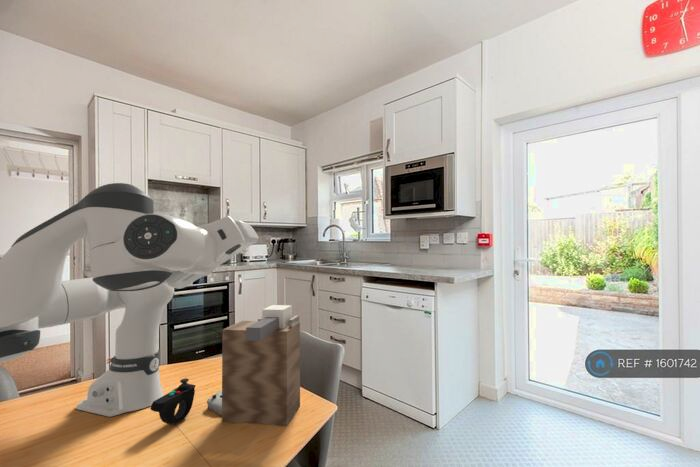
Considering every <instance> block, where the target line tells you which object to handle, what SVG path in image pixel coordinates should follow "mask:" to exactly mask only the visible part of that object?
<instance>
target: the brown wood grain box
mask: <svg viewBox="0 0 700 467" xmlns="http://www.w3.org/2000/svg"><path fill="white" fill-rule="evenodd" d="M260 320H262V316H261V317H259V318H258V319H257V320H241V321H238V322H236V323H234V324H232V325H229V326H227V327H225V328H222V342H221V343H222V344H221V345H222V348H221V350H222V351H221V355H222V356H221V358H222V361H221V364H222V366H221V368H222V369H221V375H222V376H221V390H222V414H221V422H224V423H238V424H252V425H265V426H279V427H288V425H289V424H290V423H291V421H292V419H293V418H294V416H295V415H296V414H297V412H298V410H299V408H300V407H301V344H300V343H301V341H300V340H301V334H300V333H301V331H300V330H301V323H300V315H298V314H297V315H294V316H292V318H291V319H290V320H289V325H288V326H287V327H285V328H284V329H278V330H276V331H275V332H273V333H271V334H270V335H268V336H267V337H265V338H264V339H262V340H261V341H249V340H246V327H248V326H250V325H252V324H254V323H256V322H258V321H260Z"/></svg>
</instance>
